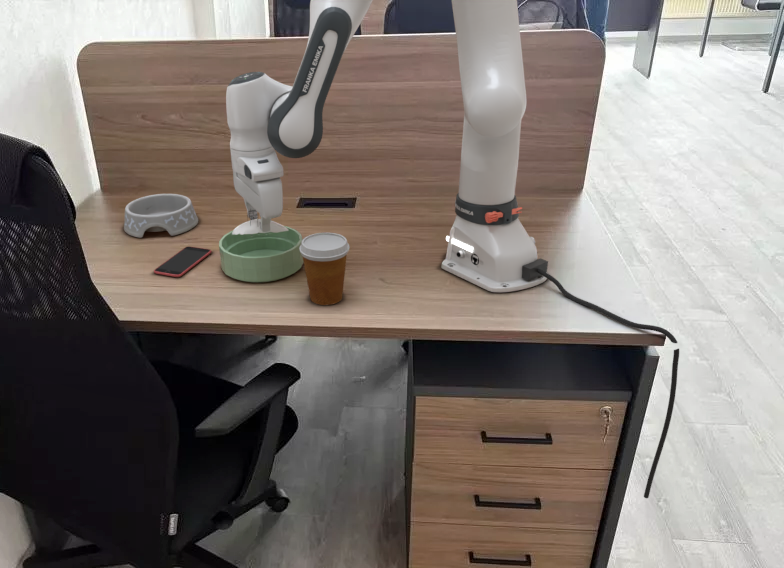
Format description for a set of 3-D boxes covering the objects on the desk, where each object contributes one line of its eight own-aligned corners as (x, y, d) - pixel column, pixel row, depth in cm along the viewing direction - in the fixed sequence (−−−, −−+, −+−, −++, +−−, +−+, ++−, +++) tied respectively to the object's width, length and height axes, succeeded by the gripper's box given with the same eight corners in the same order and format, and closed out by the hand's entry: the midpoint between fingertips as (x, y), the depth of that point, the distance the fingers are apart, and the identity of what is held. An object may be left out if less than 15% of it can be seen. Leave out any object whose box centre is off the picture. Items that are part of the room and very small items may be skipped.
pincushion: (288, 227, 155) (287, 202, 152) (288, 238, 150) (286, 212, 147) (232, 230, 155) (230, 205, 152) (230, 241, 150) (228, 215, 147)
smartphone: (151, 271, 156) (186, 245, 166) (152, 273, 156) (187, 247, 166) (179, 275, 153) (213, 249, 164) (179, 278, 153) (213, 251, 164)
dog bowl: (130, 214, 187) (126, 194, 184) (201, 209, 187) (198, 189, 184) (118, 240, 173) (114, 219, 170) (195, 235, 173) (192, 214, 170)
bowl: (316, 272, 152) (315, 246, 149) (237, 291, 147) (234, 264, 144) (285, 243, 166) (283, 218, 163) (212, 259, 161) (208, 234, 158)
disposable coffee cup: (299, 308, 139) (295, 251, 133) (305, 286, 147) (302, 231, 141) (348, 309, 138) (347, 252, 132) (352, 287, 146) (351, 231, 140)
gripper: (222, 148, 151) (229, 211, 159) (255, 176, 135) (261, 244, 143) (251, 144, 153) (256, 206, 161) (286, 170, 137) (291, 238, 145)
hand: (259, 224), depth 152 cm, fingers closed on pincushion, 6 cm apart
